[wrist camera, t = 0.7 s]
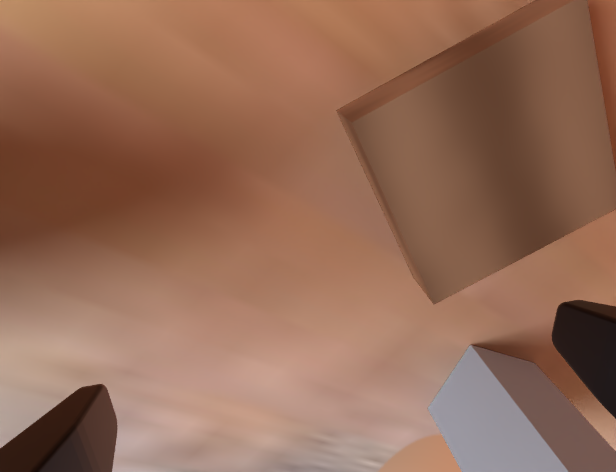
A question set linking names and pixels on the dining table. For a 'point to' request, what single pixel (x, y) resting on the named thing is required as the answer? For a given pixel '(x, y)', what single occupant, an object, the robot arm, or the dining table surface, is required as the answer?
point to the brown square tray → (490, 146)
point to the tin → (514, 419)
